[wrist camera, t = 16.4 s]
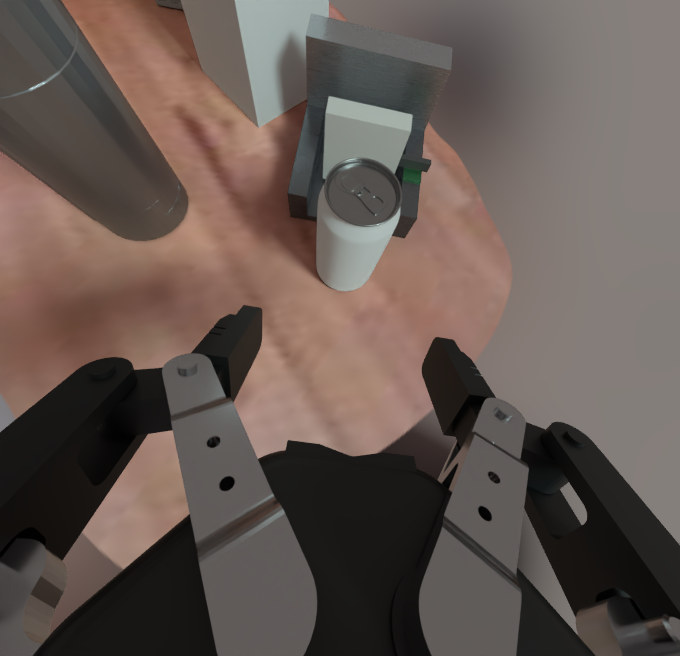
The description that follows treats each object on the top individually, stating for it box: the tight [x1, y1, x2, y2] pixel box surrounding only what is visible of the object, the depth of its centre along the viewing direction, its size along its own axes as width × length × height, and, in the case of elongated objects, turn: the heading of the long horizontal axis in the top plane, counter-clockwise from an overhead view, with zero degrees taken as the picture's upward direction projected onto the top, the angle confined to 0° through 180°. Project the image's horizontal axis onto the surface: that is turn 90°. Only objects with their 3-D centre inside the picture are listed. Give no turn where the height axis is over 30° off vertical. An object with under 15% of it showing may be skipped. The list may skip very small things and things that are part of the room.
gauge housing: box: [288, 13, 452, 238], centre depth 28 cm, size 14×15×10 cm
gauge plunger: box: [323, 96, 431, 179], centre depth 27 cm, size 12×2×8 cm, turn 82°
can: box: [316, 157, 402, 291], centre depth 24 cm, size 6×6×12 cm
